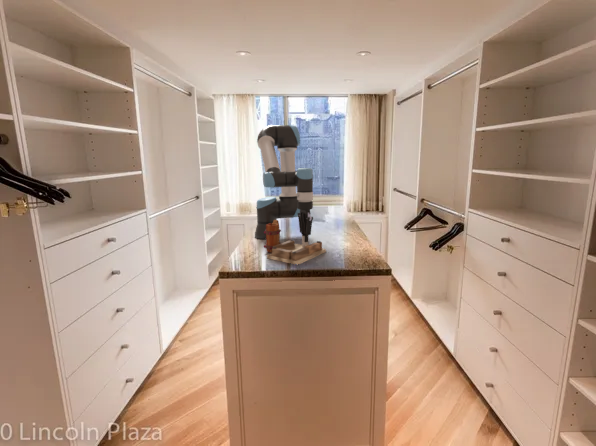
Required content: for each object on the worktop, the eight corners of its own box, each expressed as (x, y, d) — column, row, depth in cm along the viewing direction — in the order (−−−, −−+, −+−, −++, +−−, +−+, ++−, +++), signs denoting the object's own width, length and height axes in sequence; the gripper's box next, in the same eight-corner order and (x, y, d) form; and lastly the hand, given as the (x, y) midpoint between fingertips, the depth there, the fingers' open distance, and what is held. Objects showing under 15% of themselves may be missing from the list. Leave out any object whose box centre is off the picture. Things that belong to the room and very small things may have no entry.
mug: (278, 254, 158) (277, 224, 155) (262, 254, 160) (261, 224, 157) (285, 246, 172) (284, 219, 169) (270, 246, 174) (269, 218, 171)
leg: (318, 248, 163) (318, 240, 162) (323, 249, 161) (323, 241, 161) (304, 253, 155) (304, 245, 154) (309, 254, 153) (309, 246, 152)
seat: (267, 258, 154) (266, 247, 152) (296, 246, 172) (296, 236, 171) (297, 265, 143) (297, 253, 142) (325, 251, 162) (325, 241, 161)
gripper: (292, 199, 160) (293, 245, 165) (303, 203, 148) (304, 252, 153) (306, 198, 163) (306, 243, 168) (318, 201, 151) (318, 250, 156)
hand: (305, 247), depth 161 cm, fingers closed
